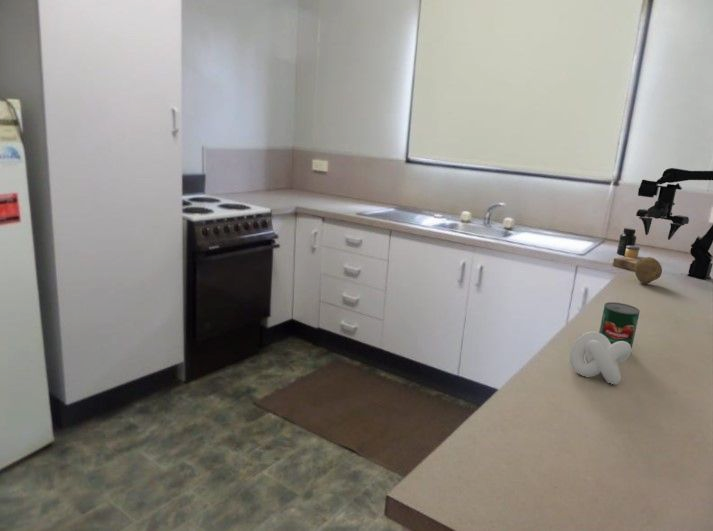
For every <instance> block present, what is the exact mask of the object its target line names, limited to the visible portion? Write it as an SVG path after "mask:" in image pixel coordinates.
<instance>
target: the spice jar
mask: <svg viewBox="0 0 713 531" xmlns="http://www.w3.org/2000/svg"><path fill="white" fill-rule="evenodd" d="M640 249H641V247H640V246H636V245H635V246H631V245H627V246H626V251H625V256H624V255H623V257H630V258H634V259H639V258H638V257H639V251H640Z"/></svg>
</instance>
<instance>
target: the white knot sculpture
mask: <svg viewBox="0 0 713 531" xmlns="http://www.w3.org/2000/svg"><path fill="white" fill-rule="evenodd" d="M632 350H633V348H632V349H631V345H630V344H629V343H628V342H625V341H618V342H615V343H613V344H612V345H611V343H610V341H609V340H608V338H607V337H606V336H604V335H603V334H601V333H599V331H594V330H593V331H587V332H584V333H583V334H581V335H580V336H578V337H577V338H576V340H575V341H574V342H573V345H572V347H571V349H570V352H569V363H570V366H571V368H572V370H573V371H574V372H575V373H576V374H577V373H578V374H577V375H579V374H581V375H583V376H589V377H588V378H593V377H595V376H597V375H600V374H602V376H603V378H604V380H605V381H606V383H608V384H609V383H611V384H610V385H612V384H616V385H618V384H619V383H620V382H621V379H622V377H621V373H620V368H619V366H620V365H622V364H623V363H624V362H625V361H627V359H628V358H629V357H630V355H631V354H632ZM583 376H582V377H583Z"/></svg>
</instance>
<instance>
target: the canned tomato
mask: <svg viewBox="0 0 713 531" xmlns="http://www.w3.org/2000/svg"><path fill="white" fill-rule="evenodd" d="M603 307H604V308H603V311H602V317H601V322H600V326H599V331H598V332H599V333H601V334H603V335H604V336H606V337H607V338H608V340H609V341H610V343H611V345H612V344H613V343H615V342H618V341H625V342H628V343H629V344H630V345H631V349H632V350H633V344H634V340H635V335H636V331H637V326H638V321H639V317H640V316H639V315H640V312H641V311H640V309H639V308H638V307H636V306H633V305H629V304H626V303H622V302H613V301H610V302H605V303H604V306H603Z"/></svg>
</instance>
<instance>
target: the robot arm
mask: <svg viewBox="0 0 713 531" xmlns="http://www.w3.org/2000/svg"><path fill="white" fill-rule="evenodd" d="M686 181H713V170H689V169H687V170H686V169H683V168H677V167H669V168H667V169H665V170H664V171H663V173H662V175H661V177H660V178H658V179H657V180H656V181H654V180H649V179H648V180H647V179H641V181H640V185H639V187H638V191H637V196H638V197H644V198H654V197H655V196H656V197H657V200H656V201H655V202H654V205H652V206H651V207H649V208H648V209H646V208H642V209H641V208H639V209H638V210H637V211H636V214H635V216H636V217H638V219H640V220H641V221H642V223H643V228H644V233H645V234H644V235H645V236H648V235H649V232H650V229H651V225H652V222H653V219H654V220H655V219H661V220H667V221H671V223H669V224H670V229H669V232H668V236H667V240H668V241H669V240H671V239H672V238H673V236H674V235H675V233H676V232H677V231H678V230H679V229H680V228H681V227H682V226H685V225H687V224H688V225H689V222H690V219H689V216H687V215H686V216H685V215H681V214H677V215H673V212H672V211H673V210H672V209H673V206H675V204H676V202H674V201H675V197H676V192H677V190H680V191H681V190H682V189H683V187H682V186H681V185H680V183H679V182H686ZM666 183H667V184H666ZM672 183H676V184H672ZM664 184H666V185H664ZM712 244H713V224H712V225H711V226H710V228H708V230H707V231H706V233H705V234H703V236H701V237H700V236H699V235H697V237H696V238H695V240H694V242H692V243H691V245H690V250H689V251H690V255H691V256H692V257H693V258H694V259H692V261H691V263H690V265H689V269H688V273H687V276H689V277H693V278H696V279H700V280H708V279H712V276H711V272H712V268H713V263H712V261H713V255H712V254H711V253H710V248H711V246H712Z"/></svg>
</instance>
